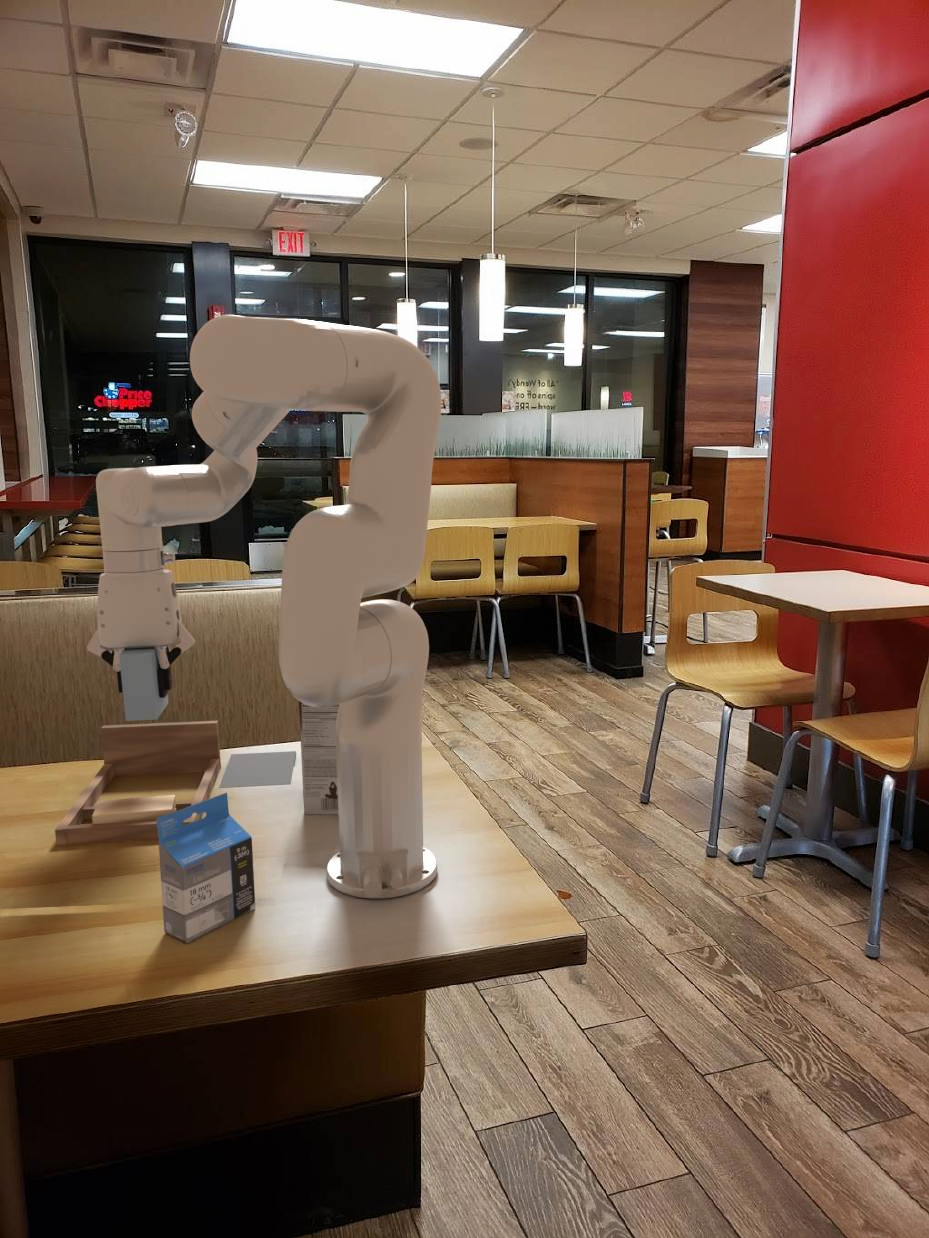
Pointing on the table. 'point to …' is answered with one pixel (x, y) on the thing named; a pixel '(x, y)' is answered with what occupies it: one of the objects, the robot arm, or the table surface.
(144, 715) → the pale blue upright prism
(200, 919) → the label tape cartridge
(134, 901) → the table surface
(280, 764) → the mat
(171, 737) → the rack
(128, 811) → the slab top
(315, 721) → the coffee box
